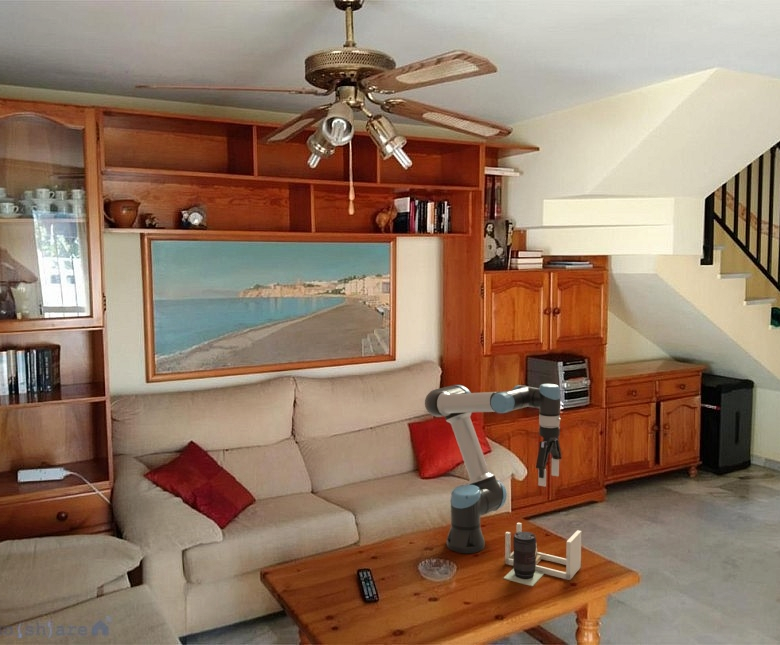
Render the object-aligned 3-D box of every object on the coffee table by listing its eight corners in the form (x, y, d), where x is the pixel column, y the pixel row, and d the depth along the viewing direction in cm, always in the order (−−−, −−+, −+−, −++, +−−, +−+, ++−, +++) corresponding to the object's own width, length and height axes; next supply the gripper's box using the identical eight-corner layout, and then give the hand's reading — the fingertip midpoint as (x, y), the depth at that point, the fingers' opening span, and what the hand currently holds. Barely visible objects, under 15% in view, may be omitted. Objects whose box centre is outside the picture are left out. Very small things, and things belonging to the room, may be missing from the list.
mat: (503, 578, 251) (503, 577, 251) (515, 567, 260) (515, 565, 260) (532, 586, 245) (532, 585, 245) (544, 574, 254) (544, 573, 254)
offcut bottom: (513, 564, 263) (513, 558, 263) (521, 556, 270) (521, 551, 270) (533, 569, 259) (533, 563, 259) (541, 561, 266) (541, 555, 266)
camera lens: (534, 570, 256) (534, 531, 255) (536, 580, 248) (537, 540, 247) (512, 569, 257) (512, 530, 255) (513, 579, 249) (514, 539, 247)
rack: (505, 563, 263) (505, 527, 261) (517, 552, 273) (518, 517, 271) (570, 580, 249) (570, 542, 248) (580, 567, 259) (581, 531, 258)
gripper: (547, 434, 249) (546, 492, 251) (570, 419, 270) (569, 473, 272) (527, 431, 253) (526, 488, 255) (551, 417, 274) (550, 470, 276)
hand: (548, 480), depth 264 cm, fingers open, 13 cm apart
